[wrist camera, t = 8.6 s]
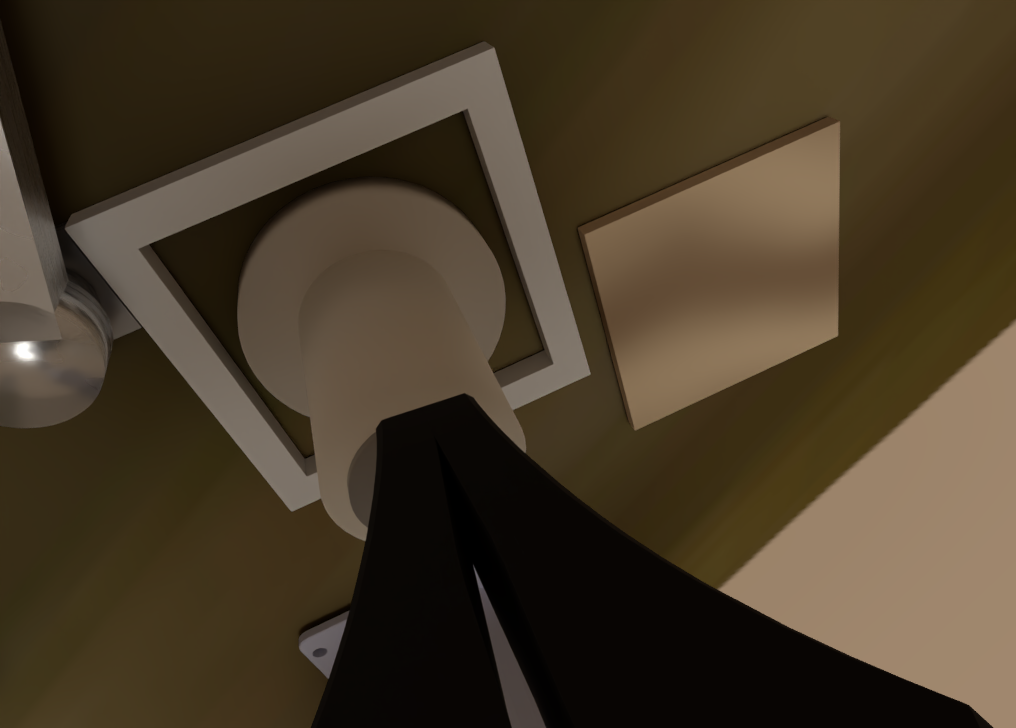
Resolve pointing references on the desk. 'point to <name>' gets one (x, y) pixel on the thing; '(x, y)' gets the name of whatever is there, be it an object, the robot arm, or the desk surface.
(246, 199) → the socket
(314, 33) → the desk surface
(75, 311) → the clip
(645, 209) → the coaster
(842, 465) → the desk surface
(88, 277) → the thin grey base plate
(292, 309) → the plug
